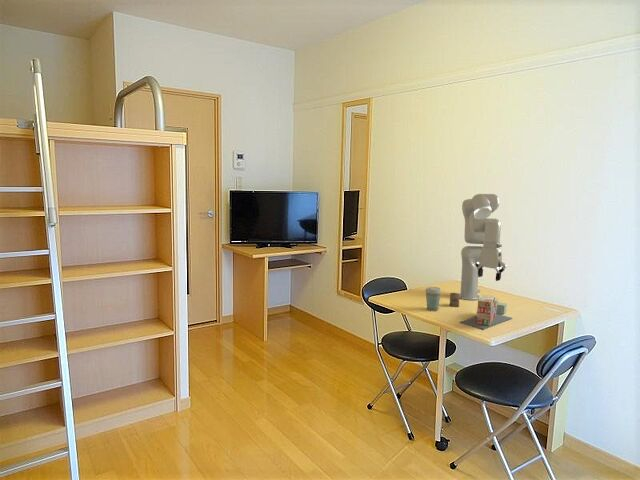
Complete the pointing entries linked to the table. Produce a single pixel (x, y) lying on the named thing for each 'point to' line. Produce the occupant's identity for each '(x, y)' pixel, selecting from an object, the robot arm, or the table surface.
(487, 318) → the stack of blocks
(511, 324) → the table surface
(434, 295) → the coffee cup
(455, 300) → the walnut cylinder
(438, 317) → the table surface
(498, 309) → the sage cube
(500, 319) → the charcoal mat
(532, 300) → the table surface
